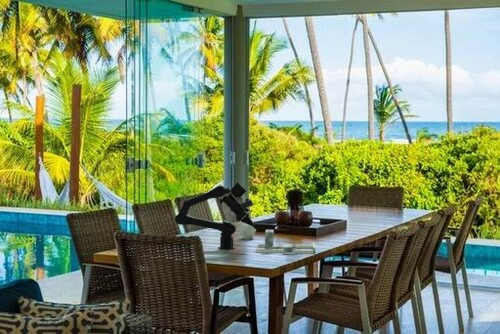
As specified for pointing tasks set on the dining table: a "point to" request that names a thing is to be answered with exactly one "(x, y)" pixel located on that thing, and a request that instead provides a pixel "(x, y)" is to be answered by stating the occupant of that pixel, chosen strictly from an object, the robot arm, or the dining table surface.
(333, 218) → the dining table surface
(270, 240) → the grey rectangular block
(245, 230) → the die
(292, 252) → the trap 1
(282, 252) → the pale green open frame
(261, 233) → the dining table surface
